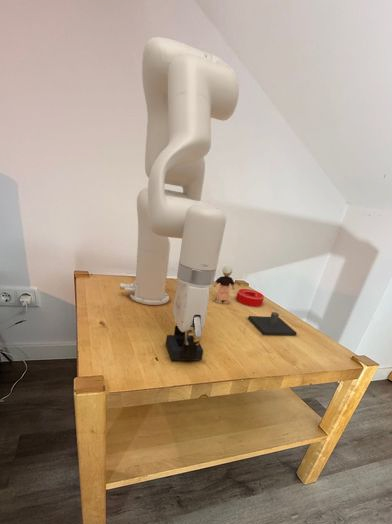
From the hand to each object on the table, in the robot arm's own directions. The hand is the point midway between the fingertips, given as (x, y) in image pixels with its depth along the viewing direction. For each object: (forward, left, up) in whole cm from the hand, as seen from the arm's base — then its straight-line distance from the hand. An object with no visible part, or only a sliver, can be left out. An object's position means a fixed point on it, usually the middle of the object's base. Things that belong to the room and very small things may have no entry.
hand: (183, 348), depth 68 cm
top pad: (0, 0, -1) cm, 1 cm away
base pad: (+32, +16, -1) cm, 36 cm away
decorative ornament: (+34, +37, -2) cm, 50 cm away
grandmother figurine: (+22, +35, -2) cm, 41 cm away
